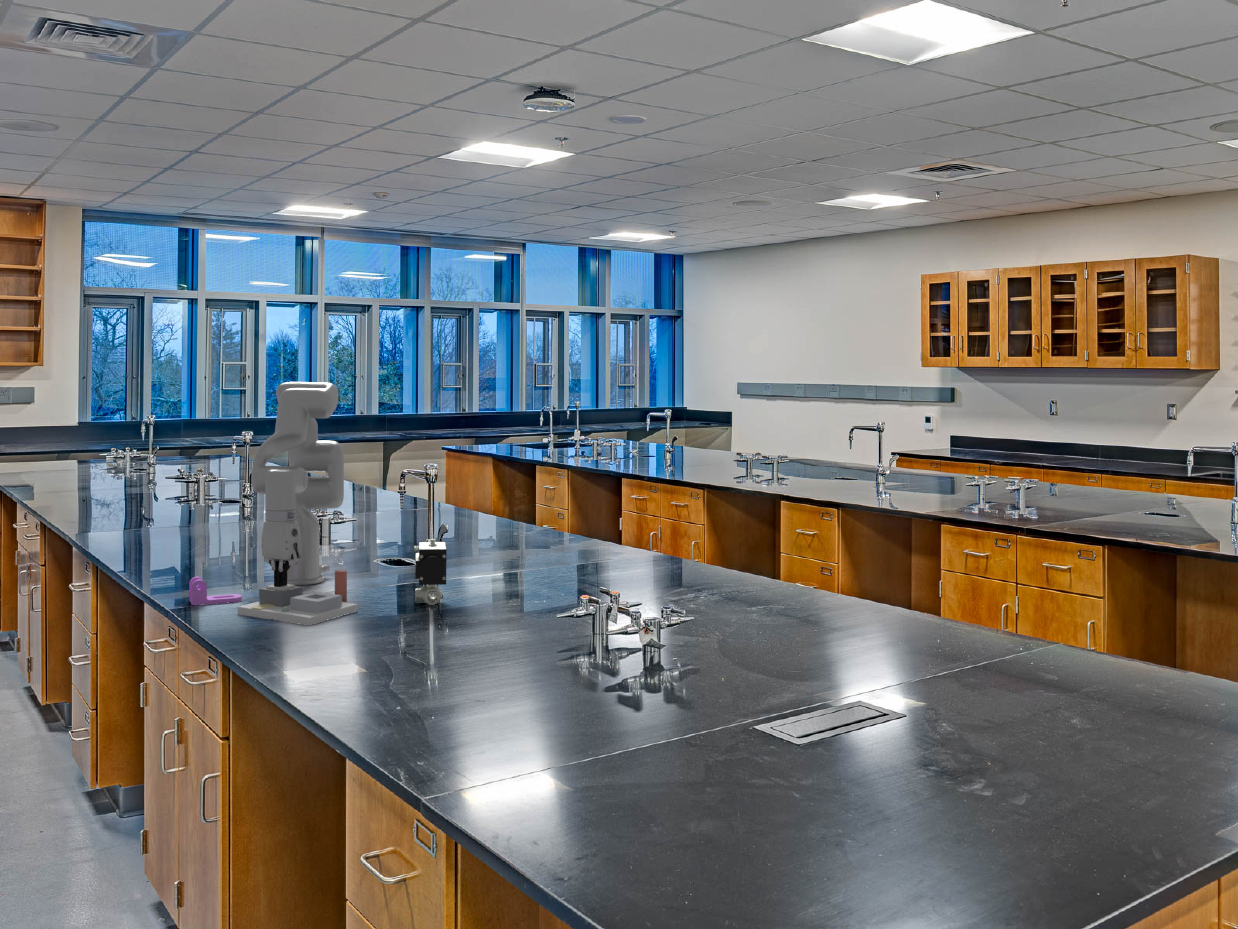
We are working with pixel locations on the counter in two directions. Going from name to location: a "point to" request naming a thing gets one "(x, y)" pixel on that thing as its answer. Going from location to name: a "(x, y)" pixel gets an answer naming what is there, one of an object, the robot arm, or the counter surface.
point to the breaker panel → (295, 613)
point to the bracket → (200, 594)
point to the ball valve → (430, 570)
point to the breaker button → (281, 587)
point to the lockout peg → (341, 584)
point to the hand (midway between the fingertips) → (280, 585)
